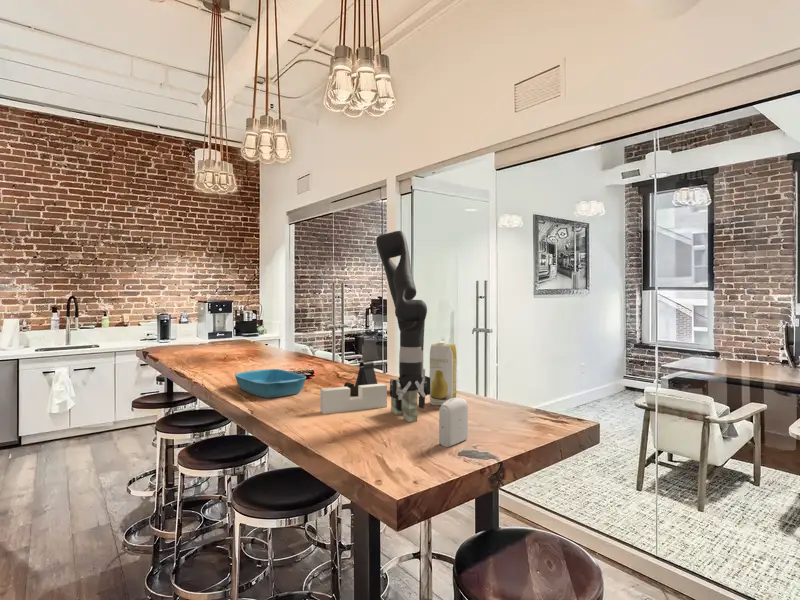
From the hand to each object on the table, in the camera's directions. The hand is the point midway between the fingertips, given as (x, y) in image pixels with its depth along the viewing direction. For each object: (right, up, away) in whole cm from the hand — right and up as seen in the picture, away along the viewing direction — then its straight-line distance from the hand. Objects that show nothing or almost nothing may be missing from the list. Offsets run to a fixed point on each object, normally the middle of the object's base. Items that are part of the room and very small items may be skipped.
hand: (410, 409), depth 152 cm
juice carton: (+13, -4, +22) cm, 26 cm away
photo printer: (+12, -4, -22) cm, 25 cm away
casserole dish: (-59, -3, +44) cm, 73 cm away
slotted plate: (-2, -4, +5) cm, 6 cm away
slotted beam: (-20, -3, +14) cm, 24 cm away
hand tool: (-22, -3, +35) cm, 41 cm away
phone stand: (-18, -3, +49) cm, 52 cm away
